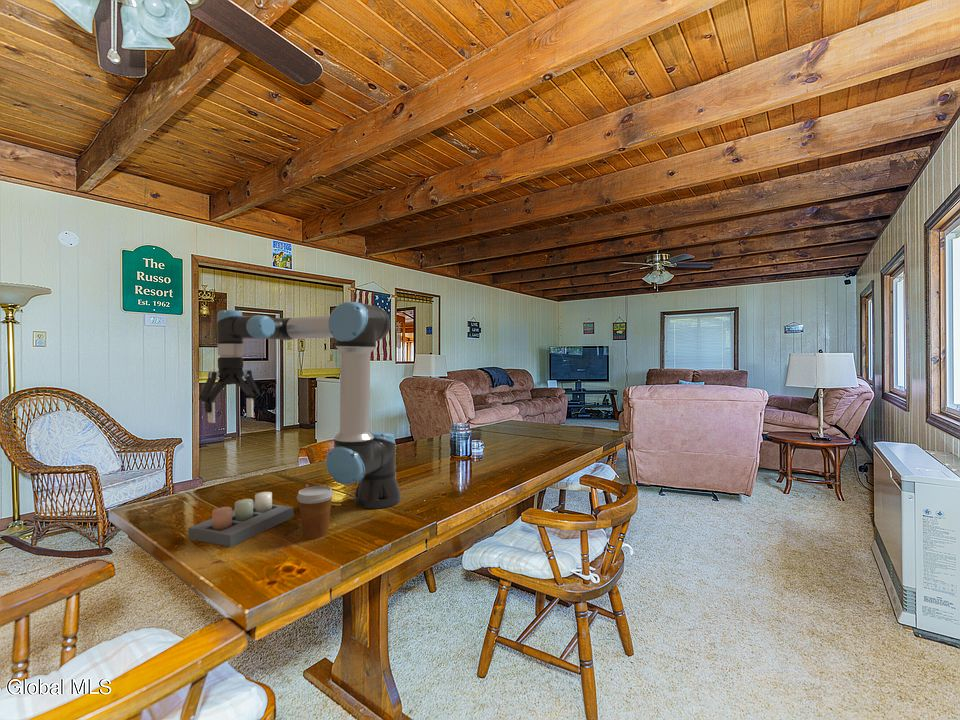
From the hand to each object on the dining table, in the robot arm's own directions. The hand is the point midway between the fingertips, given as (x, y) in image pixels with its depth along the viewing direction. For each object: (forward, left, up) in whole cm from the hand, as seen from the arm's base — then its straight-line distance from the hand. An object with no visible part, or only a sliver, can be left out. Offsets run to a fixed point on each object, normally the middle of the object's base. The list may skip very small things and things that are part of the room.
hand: (231, 419), depth 151 cm
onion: (-30, -1, -27) cm, 41 cm away
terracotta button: (-24, +24, -25) cm, 42 cm away
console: (-24, +17, -27) cm, 40 cm away
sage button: (-24, +17, -25) cm, 38 cm away
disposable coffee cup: (-46, +14, -27) cm, 55 cm away
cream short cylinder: (-24, +10, -25) cm, 36 cm away
